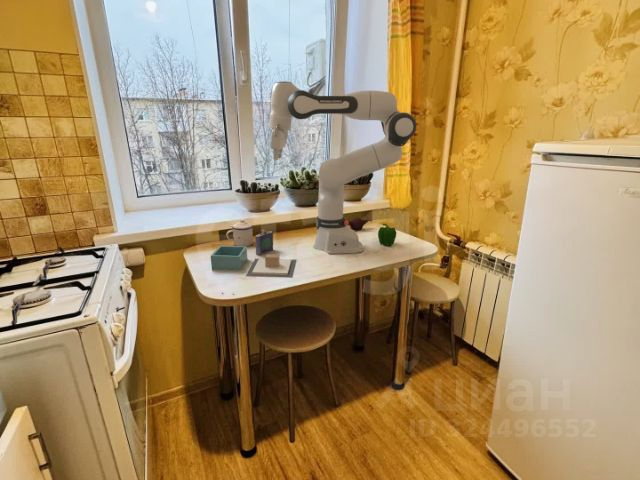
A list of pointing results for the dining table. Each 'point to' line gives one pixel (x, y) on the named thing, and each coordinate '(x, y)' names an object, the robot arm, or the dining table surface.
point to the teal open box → (229, 258)
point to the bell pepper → (386, 235)
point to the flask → (264, 242)
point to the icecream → (357, 223)
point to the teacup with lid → (242, 233)
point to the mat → (290, 275)
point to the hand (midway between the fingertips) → (277, 159)
